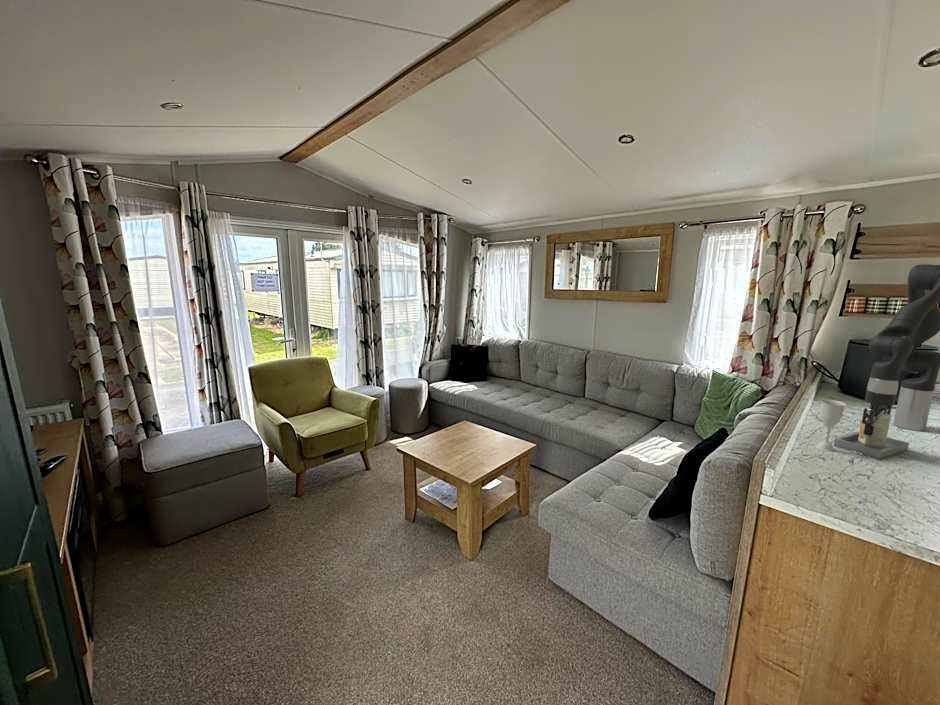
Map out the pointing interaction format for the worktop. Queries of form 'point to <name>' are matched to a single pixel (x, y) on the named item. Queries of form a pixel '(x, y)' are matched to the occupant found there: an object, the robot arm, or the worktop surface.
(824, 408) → the chalice
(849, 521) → the worktop surface
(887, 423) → the skincare box
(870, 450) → the tray
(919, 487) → the worktop surface
